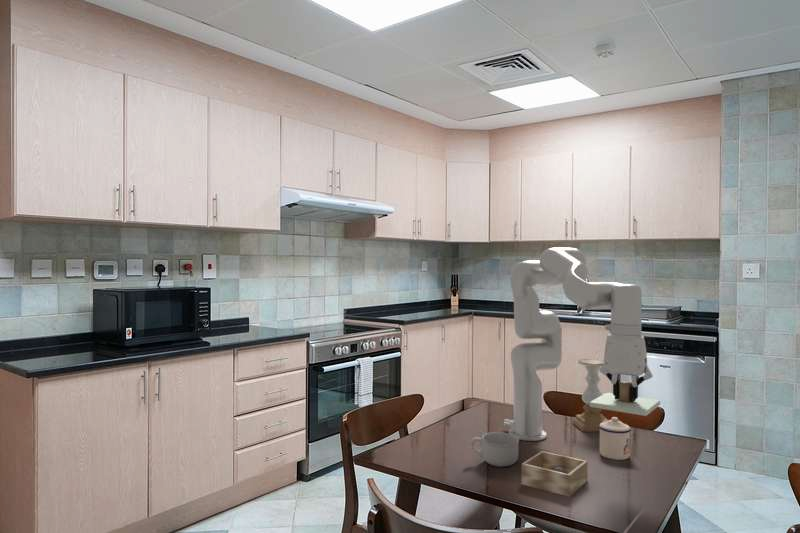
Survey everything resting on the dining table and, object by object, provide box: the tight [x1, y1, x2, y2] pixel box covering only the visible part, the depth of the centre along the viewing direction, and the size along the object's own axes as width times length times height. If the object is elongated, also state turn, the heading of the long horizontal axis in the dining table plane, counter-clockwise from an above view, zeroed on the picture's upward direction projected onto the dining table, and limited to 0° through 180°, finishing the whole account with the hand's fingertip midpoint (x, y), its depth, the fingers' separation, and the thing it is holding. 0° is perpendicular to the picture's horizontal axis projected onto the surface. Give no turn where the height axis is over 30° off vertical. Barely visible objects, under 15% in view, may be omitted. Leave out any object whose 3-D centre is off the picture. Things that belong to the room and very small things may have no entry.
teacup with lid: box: [599, 416, 631, 461], centre depth 173 cm, size 12×9×12 cm
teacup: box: [470, 431, 520, 468], centre depth 164 cm, size 14×11×8 cm
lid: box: [590, 380, 661, 417], centre depth 148 cm, size 14×14×6 cm
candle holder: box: [572, 358, 610, 433], centre depth 202 cm, size 11×11×24 cm
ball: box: [553, 467, 565, 473], centre depth 151 cm, size 3×3×3 cm
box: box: [520, 450, 589, 498], centre depth 149 cm, size 13×13×6 cm
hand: (625, 399), depth 148 cm, fingers closed on lid, 3 cm apart
